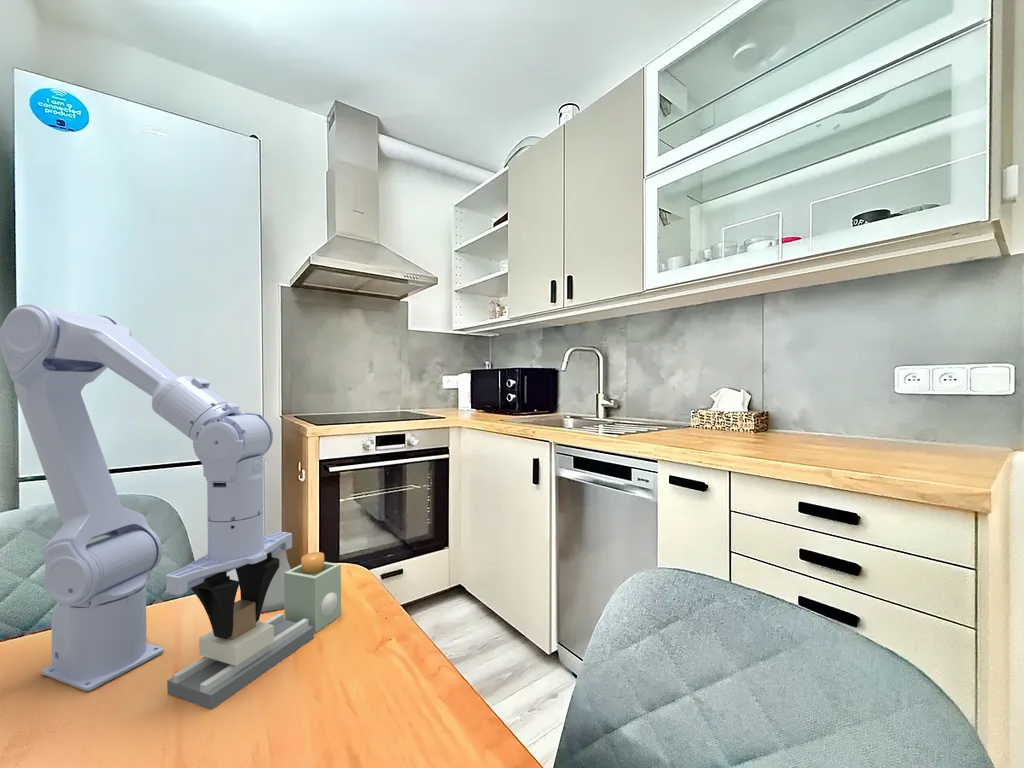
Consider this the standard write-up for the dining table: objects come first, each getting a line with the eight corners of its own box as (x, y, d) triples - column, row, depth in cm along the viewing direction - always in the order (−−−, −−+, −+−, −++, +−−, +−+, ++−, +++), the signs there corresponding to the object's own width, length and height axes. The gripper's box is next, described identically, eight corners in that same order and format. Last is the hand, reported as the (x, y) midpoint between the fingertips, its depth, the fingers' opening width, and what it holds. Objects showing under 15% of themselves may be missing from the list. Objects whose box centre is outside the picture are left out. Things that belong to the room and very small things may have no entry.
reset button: (296, 572, 63) (296, 558, 63) (313, 564, 66) (312, 551, 66) (313, 575, 62) (313, 561, 62) (328, 567, 65) (328, 553, 65)
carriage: (199, 655, 52) (198, 612, 52) (238, 632, 56) (238, 593, 56) (235, 665, 50) (235, 621, 50) (273, 641, 54) (273, 600, 54)
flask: (293, 586, 75) (293, 527, 75) (308, 601, 70) (307, 538, 70) (245, 601, 70) (244, 538, 70) (256, 618, 65) (255, 550, 65)
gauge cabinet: (284, 625, 63) (284, 572, 63) (311, 608, 67) (311, 559, 67) (316, 633, 61) (315, 578, 61) (342, 615, 65) (341, 564, 65)
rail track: (167, 694, 49) (167, 673, 49) (275, 628, 62) (274, 611, 62) (211, 709, 46) (211, 687, 46) (313, 637, 60) (313, 620, 60)
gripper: (197, 538, 45) (198, 672, 45) (309, 502, 58) (310, 605, 58) (152, 531, 47) (153, 657, 47) (269, 498, 61) (270, 596, 61)
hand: (237, 628), depth 53 cm, fingers closed on carriage, 3 cm apart
